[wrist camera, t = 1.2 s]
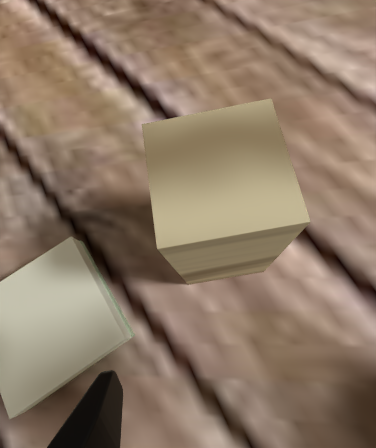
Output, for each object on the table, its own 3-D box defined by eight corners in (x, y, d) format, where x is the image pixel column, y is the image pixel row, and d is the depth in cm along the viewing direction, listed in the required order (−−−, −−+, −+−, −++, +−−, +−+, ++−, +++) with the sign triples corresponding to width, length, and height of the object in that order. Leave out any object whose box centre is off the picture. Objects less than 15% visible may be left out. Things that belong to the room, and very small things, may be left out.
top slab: (131, 337, 21) (125, 338, 20) (24, 412, 20) (9, 419, 19) (79, 241, 24) (71, 236, 22) (-17, 303, 23) (-32, 302, 22)
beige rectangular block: (263, 271, 22) (310, 221, 11) (188, 284, 22) (157, 249, 11) (246, 202, 24) (271, 98, 13) (177, 214, 24) (141, 124, 13)
